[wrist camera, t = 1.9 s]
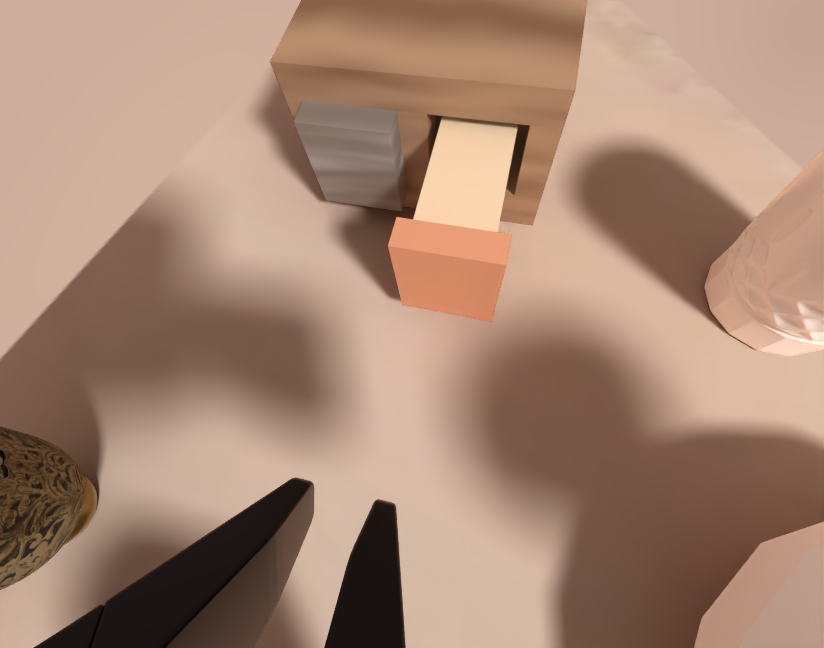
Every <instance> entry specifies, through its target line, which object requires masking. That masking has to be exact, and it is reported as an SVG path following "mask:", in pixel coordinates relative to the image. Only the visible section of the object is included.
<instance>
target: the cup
mask: <svg viewBox="0 0 824 648" xmlns="http://www.w3.org/2000/svg"><path fill="white" fill-rule="evenodd" d="M96 506H97V492H96V489H95V486H94V485H93V483H92V482H91V481H90V480H89V479H88V478H87V477H86V476H84V475H83V474H81V472H80V470H79V468H78V466H77V465H76V463H75V461H74V460H73V459H72V458H71V457H70V456H69V455H68V454H67V453H66V452H64V451H63V450H62V449H60V448H59V447H57V446H55V445H53V444H51V443H49V442H47V441H45V440H42V439H39V438H37V437H34V436H31V435H28V434H24V433H21V432H17V431H14V430H10V429H7V428H3V427H0V590H2V589H4V588H6V587H8V586H10V585H12V584H14V583H16V582H18V581H20V580H22V579H24V578H25V577H27V576H29V575H30V574H32V573H33V572H35V571H36V570H37V569H39V568H40V567H41V566H43V565H44V564H45V563H46V562H48V561H49V560H50V559H51V558H52V557H53V556H54V555H55V554H56V553H57V552H58V551H59V550H60V549H61V547H62V546H63V545H65V544H66V543H68V542H70V541H71V540H73V539H74V538H75V537H77V536H78V535H79V534H80V533H82V531H83V530H84V529H85V528H86V527H87V526H88V524H89V523H90V521H91V520H92V518H93V515H94V513H95V510H96Z"/></svg>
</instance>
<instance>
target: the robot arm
mask: <svg viewBox="0 0 824 648" xmlns="http://www.w3.org/2000/svg"><path fill="white" fill-rule="evenodd" d="M313 514H314V484H313V483H312V482H311V481H308V480H304V479H300V478H292V479H290V480H289V481H287V482H286V483H284V484H283V485H281V486H280V487H278V488H277V489H275V490H274V491H272V492H271V493H269V494H268V495H266V496H265V497H263V498H262V499H260V500H258V501H257V502H255V503H254V504H252V505H251V506H249V507H248V508H246V509H245V510H243V511H242V512H240V513H239V514H237V515H236V516H234V517H233V518H231V519H230V520H228V521H227V522H225V523H224V524H222V525H221V526H219V527H218V528H216V529H215V530H213V531H212V532H210V533H208V534H207V535H205V536H204V537H202V538H201V539H199V540H198V541H196V542H195V543H193V544H192V545H190V546H189V547H187V548H186V549H184V550H183V551H181V552H180V553H178V554H177V555H175V556H174V557H172V558H171V559H169V560H168V561H166V562H165V563H163V564H162V565H160V566H159V567H157V568H155V569H154V570H152V571H151V572H149V573H148V574H146V575H145V576H143V577H142V578H140V579H139V580H137V581H136V582H134V583H133V584H131V585H130V586H128V587H127V588H125V589H124V590H122V591H121V592H119V593H118V594H116V595H115V596H113V597H112V598H110V599H109V600H107V601H106V603H105V605H103V604H101V605H99V606H98V607H96V608H95V609H93V610H92V611H90V612H89V613H87V614H85V615H84V616H82V617H81V618H79V619H78V620H76V621H75V622H73V623H72V624H70V625H69V626H67V627H65V628H64V629H62V630H61V631H59V632H58V633H56V634H54V635H53V636H51V637H50V638H48V639H47V640H45V641H43V642H42V643H40V644H39V645H37V646H36V647H34V648H254V647H255V645H256V643H257V641H258V639H259V637H260V636H261V634H262V632H263V630H264V628H265V626H266V624H267V622H268V621H269V619H270V617H271V615H272V613H273V611H274V609H275V607H276V605H277V603H278V601H279V599H280V596H281V594H282V592H283V589H284V587H285V585H286V582H287V580H288V577H289V575H290V573H291V570H292V568H293V565H294V563H295V561H296V558H297V556H298V553H299V551H300V549H301V546H302V544H303V541H304V539H305V537H306V534H307V532H308V529H309V527H310V524H311V522H312V518H313ZM324 648H406V645H405V631H404V616H403V601H402V587H401V572H400V557H399V543H398V528H397V513H396V506H395V504H394V503H391V502H387V501H384V500H380V499H377V500H376V501H375V502H374V503H373V506H372V508H371V510H370V512H369V514H368V516H367V519H366V521H365V523H364V525H363V527H362V530H361V532H360V534H359V536H358V538H357V541H356V543H355V545H354V547H353V550H352V552H351V554H350V557H349V561H348V564H347V567H346V571H345V574H344V578H343V582H342V585H341V589H340V593H339V596H338V600H337V604H336V607H335V611H334V614H333V618H332V622H331V625H330V629H329V633H328V636H327V640H326V644H325V647H324Z"/></svg>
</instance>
